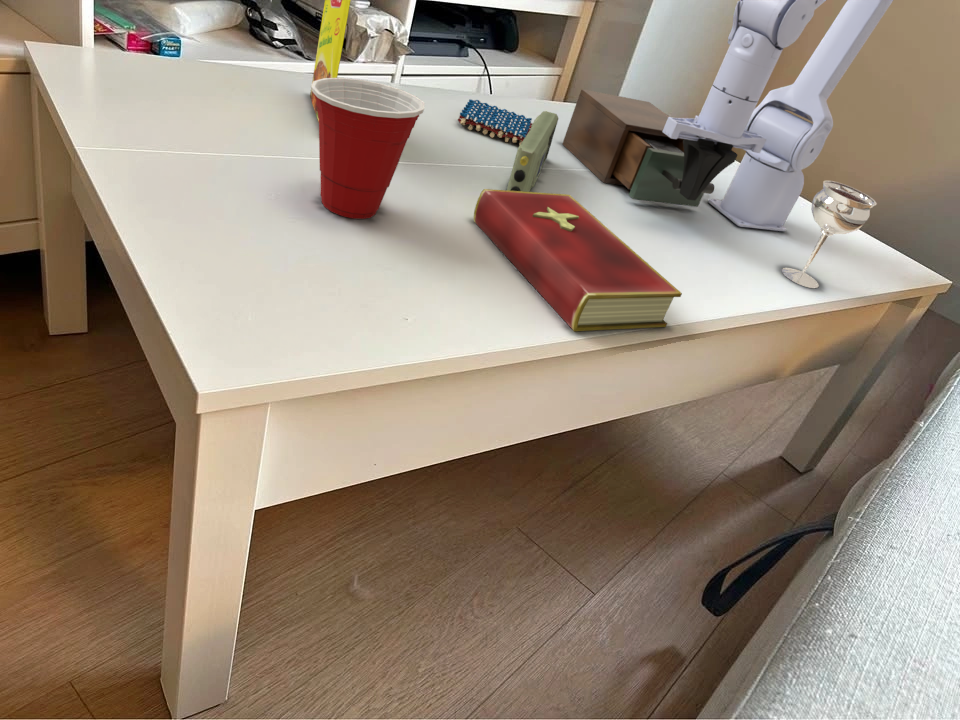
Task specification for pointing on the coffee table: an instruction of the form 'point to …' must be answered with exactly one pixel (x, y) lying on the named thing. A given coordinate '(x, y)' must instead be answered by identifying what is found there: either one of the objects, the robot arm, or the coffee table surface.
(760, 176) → the robot arm
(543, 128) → the handheld radio
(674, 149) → the metal cube
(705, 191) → the drawer
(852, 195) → the wineglass
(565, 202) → the hardcover book
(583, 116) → the cabinet
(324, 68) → the food package
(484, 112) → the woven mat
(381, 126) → the plastic cup
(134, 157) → the coffee table surface
